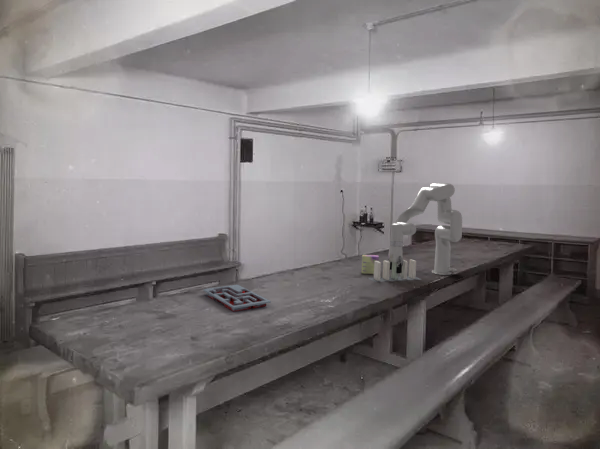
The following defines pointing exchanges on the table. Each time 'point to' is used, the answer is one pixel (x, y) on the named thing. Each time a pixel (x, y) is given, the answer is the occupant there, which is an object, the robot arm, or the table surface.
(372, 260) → the box
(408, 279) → the mat
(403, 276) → the domino
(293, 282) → the table surface
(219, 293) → the maze game
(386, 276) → the domino
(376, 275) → the domino
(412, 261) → the domino
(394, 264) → the domino
